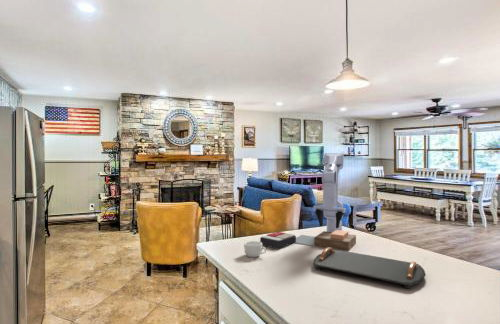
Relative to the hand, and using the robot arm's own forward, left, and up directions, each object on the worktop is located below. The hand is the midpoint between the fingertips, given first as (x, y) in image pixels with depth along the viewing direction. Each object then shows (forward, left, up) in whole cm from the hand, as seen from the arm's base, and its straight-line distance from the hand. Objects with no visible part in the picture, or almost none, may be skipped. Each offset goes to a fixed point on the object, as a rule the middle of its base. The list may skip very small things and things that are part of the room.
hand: (329, 226), depth 149 cm
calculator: (+6, -23, -10) cm, 26 cm away
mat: (-7, -14, -10) cm, 19 cm away
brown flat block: (-7, +1, -10) cm, 12 cm away
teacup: (+28, -23, -10) cm, 38 cm away
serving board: (+21, +21, -11) cm, 31 cm away
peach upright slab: (-7, +3, -6) cm, 10 cm away
